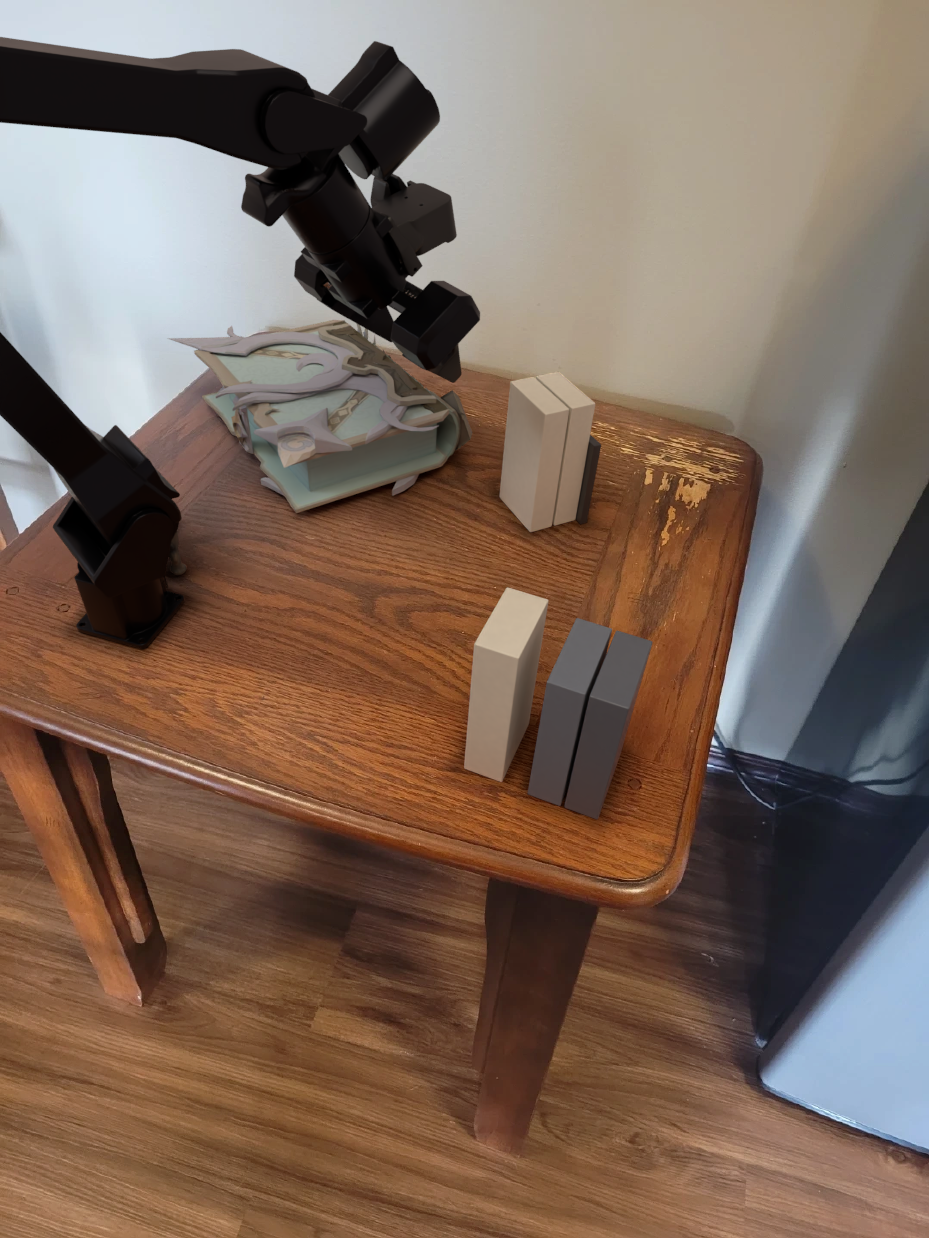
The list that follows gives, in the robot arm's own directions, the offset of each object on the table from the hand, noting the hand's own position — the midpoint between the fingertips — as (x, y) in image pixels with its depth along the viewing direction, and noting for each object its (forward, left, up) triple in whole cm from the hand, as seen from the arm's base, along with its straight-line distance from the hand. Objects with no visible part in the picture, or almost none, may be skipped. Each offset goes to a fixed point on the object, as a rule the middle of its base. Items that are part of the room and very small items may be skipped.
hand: (424, 357), depth 76 cm
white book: (-29, -16, -15) cm, 36 cm away
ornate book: (+6, +14, -15) cm, 21 cm away
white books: (+2, -12, -15) cm, 19 cm away
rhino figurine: (-17, +22, -15) cm, 31 cm away
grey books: (-29, -22, -15) cm, 39 cm away
